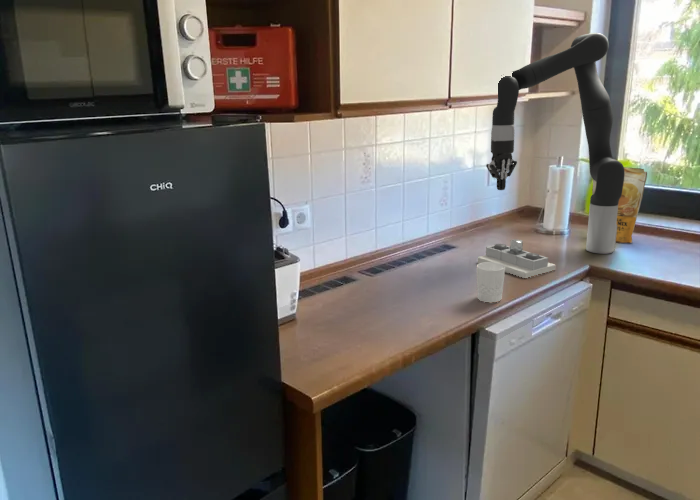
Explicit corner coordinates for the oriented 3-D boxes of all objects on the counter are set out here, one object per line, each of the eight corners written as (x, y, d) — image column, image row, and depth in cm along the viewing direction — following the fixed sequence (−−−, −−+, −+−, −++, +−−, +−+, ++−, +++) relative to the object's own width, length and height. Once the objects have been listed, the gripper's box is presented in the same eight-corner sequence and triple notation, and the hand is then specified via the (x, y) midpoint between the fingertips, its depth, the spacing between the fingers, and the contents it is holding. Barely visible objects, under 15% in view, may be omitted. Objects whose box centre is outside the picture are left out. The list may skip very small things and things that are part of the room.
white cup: (498, 306, 160) (500, 272, 157) (471, 301, 164) (472, 268, 161) (507, 297, 166) (508, 264, 164) (480, 292, 170) (482, 260, 168)
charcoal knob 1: (499, 252, 201) (500, 243, 200) (508, 255, 198) (509, 245, 197) (491, 254, 199) (492, 245, 198) (500, 257, 196) (500, 247, 195)
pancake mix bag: (590, 233, 231) (597, 163, 224) (640, 241, 218) (648, 167, 210) (583, 236, 227) (589, 165, 219) (633, 245, 214) (641, 170, 206)
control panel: (506, 255, 205) (507, 242, 204) (555, 270, 188) (556, 255, 187) (477, 262, 198) (478, 248, 197) (525, 278, 181) (526, 263, 180)
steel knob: (515, 248, 194) (516, 238, 193) (524, 251, 191) (525, 241, 190) (507, 250, 192) (507, 240, 191) (516, 253, 189) (517, 243, 188)
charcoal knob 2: (531, 262, 189) (532, 252, 188) (541, 265, 186) (541, 255, 185) (523, 264, 187) (523, 254, 186) (532, 267, 184) (533, 257, 183)
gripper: (507, 136, 199) (505, 186, 203) (480, 139, 192) (479, 191, 197) (524, 137, 192) (522, 188, 197) (497, 141, 186) (495, 193, 190)
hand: (500, 189), depth 197 cm, fingers closed
